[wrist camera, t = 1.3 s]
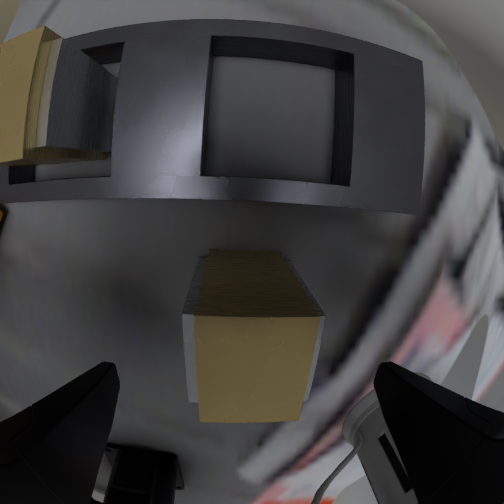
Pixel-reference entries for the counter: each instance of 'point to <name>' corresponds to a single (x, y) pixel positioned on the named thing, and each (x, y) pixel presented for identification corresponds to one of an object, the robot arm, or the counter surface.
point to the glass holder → (374, 454)
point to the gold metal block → (250, 337)
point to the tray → (197, 110)
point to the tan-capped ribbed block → (53, 102)
